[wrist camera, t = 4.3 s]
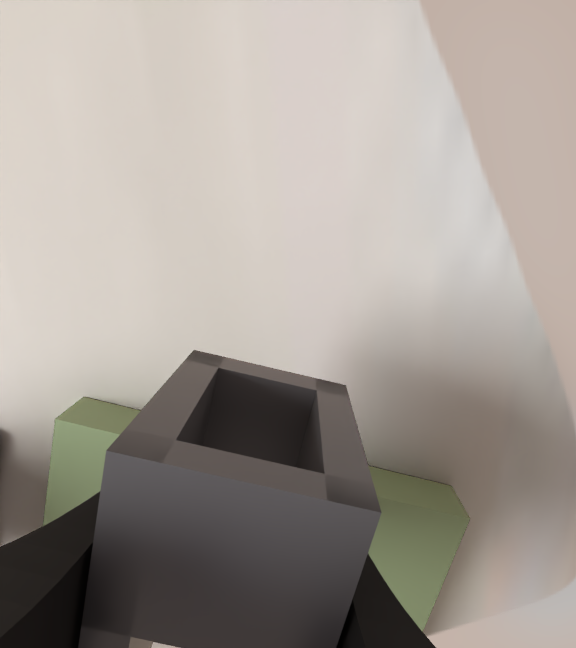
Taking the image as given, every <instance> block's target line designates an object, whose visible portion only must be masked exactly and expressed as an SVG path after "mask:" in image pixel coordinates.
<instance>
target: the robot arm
mask: <svg viewBox="0 0 576 648" xmlns="http://www.w3.org/2000/svg"><path fill="white" fill-rule="evenodd" d="M99 497H100V491H99V492H98V493H96V494H95V495H93V496H92V497H91V498H89V499H88V500H86V501H85V502H83V503H81V504H80V505H78V506H77V507H75V508H73V509H72V510H70V511H68V512H67V513H65V514H63V515H62V516H60V517H59V518H57V519H55V520H53V521H52V522H50V523H48V524H46V525H44V526H43V527H41V528H39V529H37V530H35V531H33V532H31V533H29V534H27V535H25V536H23V537H21V538H19V539H17V540H15V541H13V542H10V543H8V544H6V545H3V546H1V547H0V648H78V646H79V639H80V631H81V624H82V617H83V610H84V603H85V596H86V589H87V582H88V575H89V568H90V561H91V554H92V547H93V540H94V533H95V526H96V519H97V512H98V505H99ZM336 648H436V647H435V646H434V645H433V644H432V643H431V642H430V640H429V639H428V638H427V637H426V636H425V634H424V633H423V632H422V631H421V630H420V628H419V627H418V626H417V624H416V623H415V622H414V621H413V619H412V618H411V617H410V615H409V614H408V613H407V612H406V610H405V609H404V608H403V606H402V605H401V604H400V602H399V601H398V599H397V598H396V597H395V595H394V594H393V592H392V591H391V589H390V588H389V586H388V585H387V583H386V582H385V580H384V579H383V577H382V575H381V574H380V572H379V571H378V569H377V567H376V566H375V564H374V562H373V560H372V559H371V557H370V555H369V554H368V555H367V557H366V560H365V563H364V566H363V569H362V572H361V575H360V578H359V581H358V584H357V587H356V590H355V593H354V596H353V599H352V602H351V605H350V608H349V611H348V614H347V617H346V620H345V623H344V626H343V629H342V632H341V635H340V638H339V641H338V643H337V646H336Z"/></svg>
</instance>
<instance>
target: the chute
mask: <svg viewBox="0 0 576 648" xmlns="http://www.w3.org/2000/svg"><path fill="white" fill-rule="evenodd" d="M381 513H382V512H381V509H380V505H379V502H378V498H377V495H376V491H375V488H374V484H373V481H372V477H371V473H370V470H369V466H368V463H367V459H366V456H365V452H364V449H363V445H362V441H361V438H360V434H359V431H358V427H357V424H356V420H355V417H354V413H353V410H352V406H351V402H350V399H349V395H348V392H347V388H346V385H342V384H338V383H334V382H329V381H325V380H321V379H316V378H312V377H308V376H304V375H299V374H295V373H291V372H286V371H282V370H278V369H273V368H269V367H265V366H261V365H256V364H252V363H248V362H243V361H239V360H235V359H231V358H226V357H222V356H218V355H213V354H209V353H205V352H200V351H196V350H194V351H193V352H192V353H191V354H190V355H189V356H188V357H187V359H186V360H185V361H184V362H183V363H182V364H181V365H180V367H179V368H178V369H177V370H176V371H175V372H174V373H173V375H172V376H171V377H170V378H169V379H168V380H167V381H166V383H165V384H164V385H163V386H162V387H161V388H160V389H159V391H158V392H157V393H156V394H155V395H154V396H153V398H152V399H151V400H150V401H149V402H148V403H147V404H146V406H145V407H144V408H143V409H142V410H141V411H140V412H139V414H138V415H137V416H136V417H135V418H134V419H133V420H132V422H131V423H130V424H129V425H128V426H127V427H126V428H125V430H124V431H123V432H122V433H121V434H120V435H119V436H118V438H117V439H116V440H115V441H114V442H113V443H112V444H111V446H110V447H109V448H108V449H107V450H106V455H105V462H104V469H103V476H102V483H101V490H100V497H99V505H98V512H97V519H96V526H95V533H94V540H93V547H92V554H91V561H90V568H89V575H88V582H87V589H86V596H85V603H84V610H83V617H82V624H81V631H80V639H79V646H78V648H151V647H152V644H153V642H157V643H162V644H166V645H171V646H175V647H180V648H336V646H337V643H338V641H339V638H340V635H341V632H342V629H343V626H344V623H345V620H346V617H347V614H348V611H349V608H350V605H351V602H352V599H353V596H354V593H355V590H356V587H357V584H358V581H359V578H360V575H361V572H362V569H363V566H364V563H365V560H366V557H367V555H368V552H369V549H370V546H371V543H372V540H373V537H374V534H375V531H376V528H377V525H378V522H379V519H380V516H381Z"/></svg>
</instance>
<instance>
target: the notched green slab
mask: <svg viewBox="0 0 576 648" xmlns="http://www.w3.org/2000/svg"><path fill="white" fill-rule="evenodd" d="M139 412H140V410H136V409H132V408H128V407H124V406H120V405H115V404H111V403H107V402H103V401H99V400H95V399H91V398H87V397H83V398H81V399H80V400H79V401H78V402H76V403H75V404H74V405H73V406H71V407H70V408H69V409H67V410H66V411H65V412H64V413H62V414H61V415H60V416H58V417H57V418H56V419H55V425H54V434H53V443H52V451H51V460H50V468H49V477H48V485H47V494H46V502H45V511H44V520H43V526H44V525H46V524H48V523H50V522H52V521H53V520H55V519H57V518H59V517H60V516H62V515H63V514H65V513H67V512H68V511H70V510H72V509H73V508H75V507H77V506H78V505H80V504H81V503H83V502H85V501H86V500H88V499H89V498H91V497H92V496H93V495H95V494H96V493H98V492H99V491H100V490H101V483H102V476H103V469H104V462H105V455H106V450H107V449H108V448H109V447H110V446H111V444H112V443H113V442H114V441H115V440H116V439H117V438H118V436H119V435H120V434H121V433H122V432H123V431H124V430H125V428H126V427H127V426H128V425H129V424H130V423H131V422H132V420H133V419H134V418H135V417H136V416H137V415H138V414H139ZM369 470H370V473H371V477H372V481H373V484H374V488H375V491H376V495H377V498H378V502H379V505H380V509H381V512H382V513H381V516H380V519H379V522H378V525H377V528H376V531H375V534H374V537H373V540H372V543H371V546H370V549H369V552H368V554H369V555H370V557H371V559H372V560H373V562H374V564H375V566H376V567H377V569H378V571H379V572H380V574H381V575H382V577H383V579H384V580H385V582H386V583H387V585H388V586H389V588H390V589H391V591H392V592H393V594H394V595H395V597H396V598H397V599H398V601H399V602H400V604H401V605H402V606H403V608H404V609H405V610H406V612H407V613H408V614H409V615H410V617H411V618H412V619H413V621H414V622H415V623H416V624H417V626H418V627H419V628H420V630H421V631H422V632H423V630H424V628H425V625H426V623H427V620H428V618H429V616H430V613H431V611H432V609H433V606H434V604H435V601H436V599H437V597H438V594H439V592H440V589H441V587H442V585H443V582H444V580H445V578H446V575H447V573H448V570H449V568H450V566H451V563H452V561H453V559H454V556H455V554H456V551H457V549H458V547H459V544H460V542H461V539H462V537H463V535H464V532H465V530H466V528H467V525H468V523H469V520H470V518H469V516H468V514H467V512H466V511H465V509H464V507H463V505H462V504H461V502H460V500H459V498H458V497H457V495H456V493H455V491H454V490H453V488H452V486H450V485H446V484H442V483H437V482H433V481H429V480H425V479H421V478H417V477H413V476H409V475H404V474H400V473H396V472H392V471H388V470H384V469H380V468H375V467H371V466H369Z"/></svg>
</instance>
